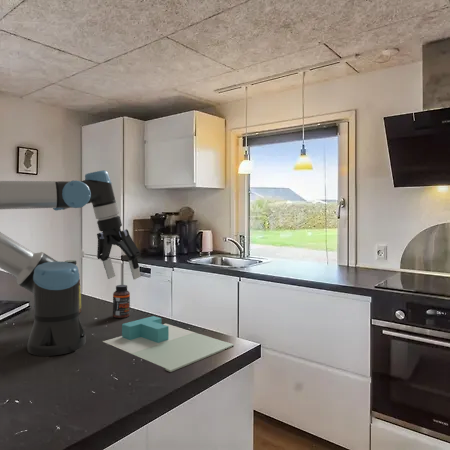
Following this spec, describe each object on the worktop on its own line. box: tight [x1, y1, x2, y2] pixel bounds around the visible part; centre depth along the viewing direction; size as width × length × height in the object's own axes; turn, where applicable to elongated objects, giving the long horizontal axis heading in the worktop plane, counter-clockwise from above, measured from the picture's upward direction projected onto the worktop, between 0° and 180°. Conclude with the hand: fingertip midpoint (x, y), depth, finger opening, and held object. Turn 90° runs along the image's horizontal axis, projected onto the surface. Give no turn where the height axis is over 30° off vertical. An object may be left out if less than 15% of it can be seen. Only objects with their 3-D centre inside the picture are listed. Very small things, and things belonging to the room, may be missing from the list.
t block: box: [121, 315, 169, 343], centre depth 117 cm, size 12×12×4 cm
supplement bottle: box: [112, 284, 131, 319], centre depth 140 cm, size 6×6×11 cm
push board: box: [102, 323, 235, 373], centre depth 112 cm, size 24×30×1 cm
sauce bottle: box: [64, 259, 82, 314], centre depth 144 cm, size 6×6×20 cm
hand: (124, 277), depth 131 cm, fingers open, 13 cm apart
